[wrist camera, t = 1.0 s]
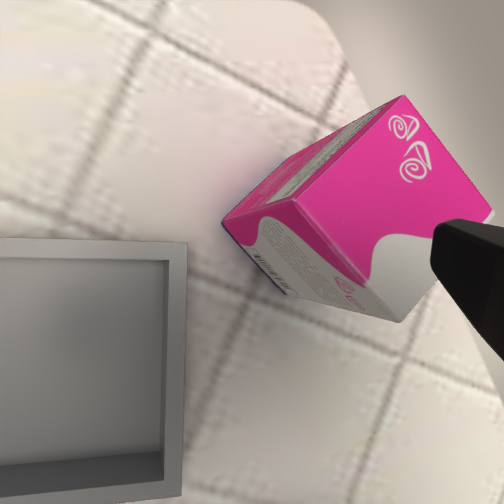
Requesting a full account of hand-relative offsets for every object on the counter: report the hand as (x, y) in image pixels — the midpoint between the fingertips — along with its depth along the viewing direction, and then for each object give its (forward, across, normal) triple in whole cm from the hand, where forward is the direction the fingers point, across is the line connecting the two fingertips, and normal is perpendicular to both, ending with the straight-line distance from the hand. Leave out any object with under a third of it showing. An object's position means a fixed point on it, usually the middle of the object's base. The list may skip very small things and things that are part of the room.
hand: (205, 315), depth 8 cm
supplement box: (+16, -8, +9) cm, 19 cm away
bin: (+14, +6, +11) cm, 19 cm away
